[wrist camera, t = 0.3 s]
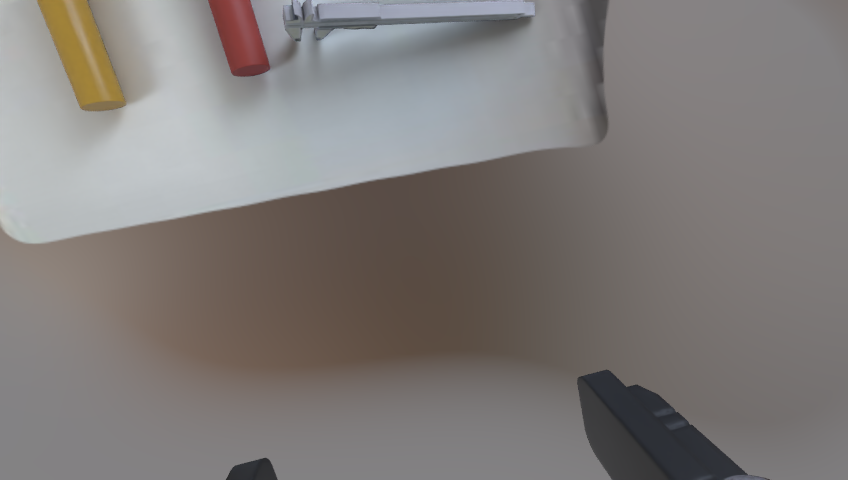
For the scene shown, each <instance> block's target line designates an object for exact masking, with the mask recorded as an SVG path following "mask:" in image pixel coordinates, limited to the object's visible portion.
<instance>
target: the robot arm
mask: <svg viewBox="0 0 848 480" xmlns="http://www.w3.org/2000/svg"><path fill="white" fill-rule="evenodd" d="M577 384H578V390H579V396H580V402H581V408H582V414H583V419H584V426H585V431H586V435H587V438H588V440H589V443H590V445H591V447H592V449H593V452H594V453H595V455H596V457H597V458H598V459H599V461H600V462H601V464H602V465H603V467H604V468H605V470H606V471H607V473H608V474H609V476H610V477H611V479H612V480H770V479H766V478H762V477H758V476H752V475H748V474H747V473H745V472H744V471H743V470H742V469H741V468H740V467H739V466H738V465H736V464H735V463H734V462H733V461H732V460H731V459H730V458H729V457H728V456H726V455H725V454H724V453H723V452H722V451H721V450H720V449H719V448H717V447H716V446H715V445H714V444H713V443H712V442H711V441H710V440H708V439H707V438H706V437H705V436H704V435H703V434H702V433H701V432H699V431H698V430H697V429H696V428H695V427H694V426H693V425H690V424H689V422H688V421H687V420H686V419H685V418H684V417H683V416H682V415H680V414H679V413H678V412H675V410H674V408H673V407H671V406H670V405H669V404H668V403H667V402H666V401H665V400H664V399H662V398H661V397H660V396H659V395H658V394H656V393H654V392H651V391H649V390H647V389H645V388H643V387H641V386H638V385H633V386H629V387H626V386H625V385H624V384H623V383H622V382H621V381H620V380H619V379H617V377H616V376H615V375H613V374H612V373H611V372H610V371H609V370H604V371H600V372H596V373H593V374H588V375H585V376H581V377H579V378H578V380H577ZM226 480H277V477H276V474H275V472H274V469H273V466H272V464H271V462H270V460H269V459H267V458H263V459H259V460H255V461H251V462H247V463H244V464H240V465H236V466H234V467H233V468H232V470H231V471H230V473H229V475H228V477H227V479H226Z"/></svg>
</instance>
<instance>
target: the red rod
mask: <svg viewBox="0 0 848 480" xmlns="http://www.w3.org/2000/svg"><path fill="white" fill-rule="evenodd" d="M208 2H209V5H210V8H211V11H212V14H213V17H214V20H215V23H216V27H217V30H218V33H219V36H220V39H221V42H222V45H223V48H224V51H225V54H226V57H227V61H228V64H229V67H230V70H231V73H232V74H233V75H234V76H241V77H245V76H254V75H258V74H262V73H264V72H266V71H268V70H269V69H270V65H269V61H268V58H267V55H266V52H265V48H264V45H263V42H262V38H261V35H260V32H259V28H258V25H257V22H256V19H255V15H254V12H253V9H252V5H251V2H250V0H208Z"/></svg>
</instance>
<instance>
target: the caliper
mask: <svg viewBox="0 0 848 480" xmlns="http://www.w3.org/2000/svg"><path fill="white" fill-rule="evenodd" d="M533 16H535V6H534V3H533V2H526V3H524V0H515V1H480V2H448V3H416V4H384V5H379V2H376V3H333V4H317V6H315V7H313V4H312V0H306V1H305V2H304V3H303V5H302V7H301V5H300V3H299V2H298V1H297V0H292V5H284V6H283V19H284V25H285V30H286V31H287V33H288V34H289V35H290V36H291V38H292V39H293V40H294V41H301V34H302V28H315V34H316V40H321V39H323V38H324V37H325V36H327V35H328V34H329V33H330V32H331V31H332V30H333V29H334V28H344V29H374V28H376V26H377V25H392V24H415V23H438V22H463V21H488V20H513V19H518V18H520V17H533Z"/></svg>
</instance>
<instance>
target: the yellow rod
mask: <svg viewBox="0 0 848 480" xmlns="http://www.w3.org/2000/svg"><path fill="white" fill-rule="evenodd" d="M37 2H38V4H39V7H40V9H41V12H42V14H43V17H44V19H45V22H46V24H47V27H48V29H49V32H50V34H51V36H52V39H53V41H54V44H55V46H56V49H57V51H58V54H59V56H60V59H61V61H62V64H63V66H64V68H65V71H66V73H67V76H68V78H69V81H70V83H71V86H72V88H73V91H74V93H75V96H76V98H77V101H78V103H79V105H80V108H81V109H82V110H85V111H105V110H112V109H117V108H120V107H123V106H125V105H126V101H125V99H124V96H123V94H122V91H121V88H120V86H119V83H118V80H117V78H116V75H115V73H114V70H113V67H112V65H111V62H110V60H109V57H108V54H107V52H106V49H105V46H104V44H103V41H102V39H101V36H100V33H99V31H98V28H97V25H96V23H95V20H94V18H93V15H92V12H91V10H90V7H89V4H88V2H87V0H37Z"/></svg>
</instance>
